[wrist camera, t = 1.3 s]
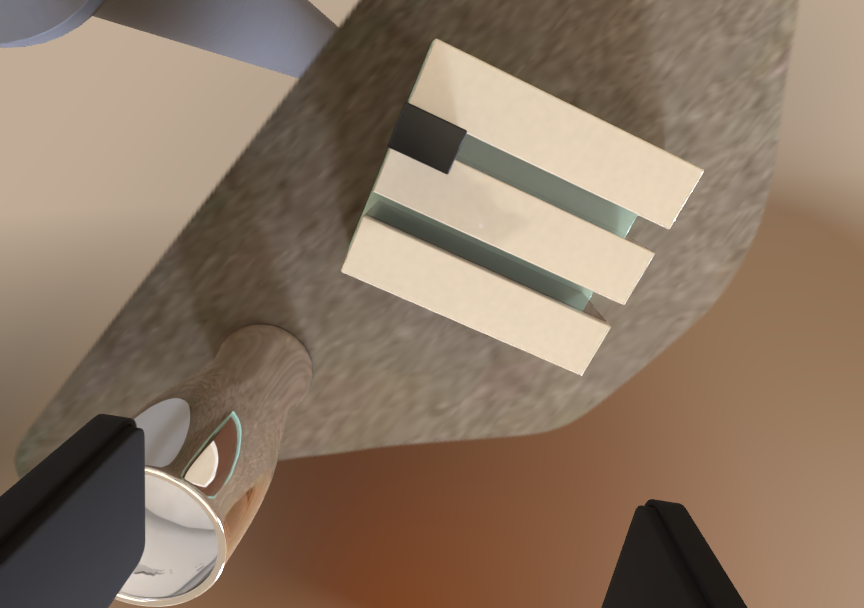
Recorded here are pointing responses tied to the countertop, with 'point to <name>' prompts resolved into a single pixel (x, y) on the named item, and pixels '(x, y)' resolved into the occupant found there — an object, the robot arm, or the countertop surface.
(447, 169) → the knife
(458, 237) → the slatted panel
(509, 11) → the countertop surface
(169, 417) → the beer glass
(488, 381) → the countertop surface
